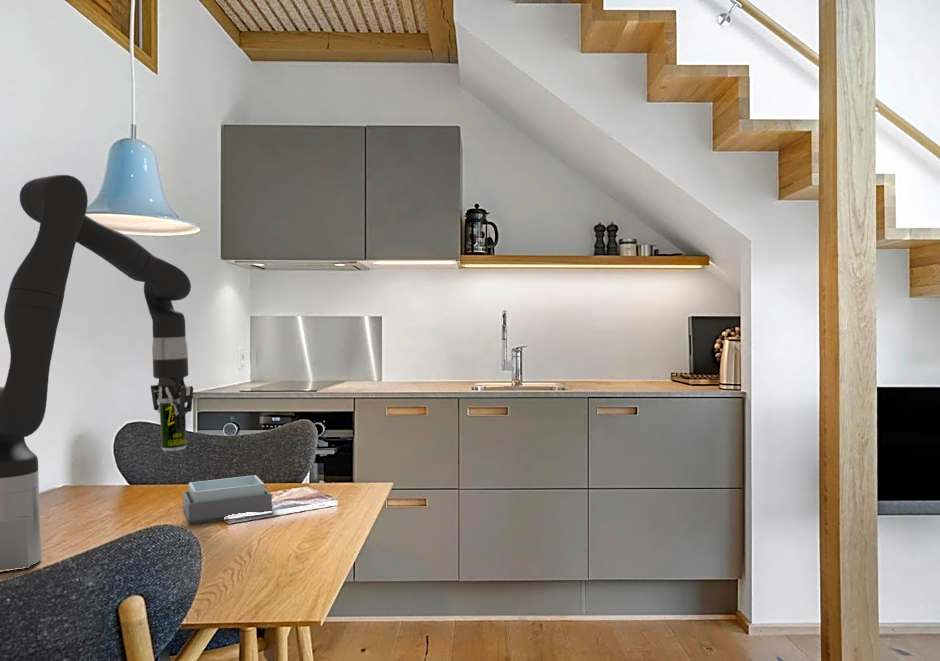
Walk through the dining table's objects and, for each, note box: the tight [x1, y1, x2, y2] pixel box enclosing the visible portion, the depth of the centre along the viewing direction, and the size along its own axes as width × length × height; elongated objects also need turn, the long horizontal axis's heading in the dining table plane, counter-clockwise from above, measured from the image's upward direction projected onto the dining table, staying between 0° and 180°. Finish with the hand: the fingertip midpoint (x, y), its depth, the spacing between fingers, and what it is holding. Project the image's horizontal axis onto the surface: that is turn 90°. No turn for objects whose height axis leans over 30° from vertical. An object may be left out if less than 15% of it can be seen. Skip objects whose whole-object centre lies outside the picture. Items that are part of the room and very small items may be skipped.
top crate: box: [188, 474, 266, 504], centre depth 175 cm, size 11×15×6 cm
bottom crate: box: [182, 487, 273, 526], centre depth 175 cm, size 14×18×4 cm
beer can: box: [159, 398, 187, 452], centre depth 174 cm, size 5×5×12 cm
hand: (173, 429), depth 174 cm, fingers closed on beer can, 5 cm apart
